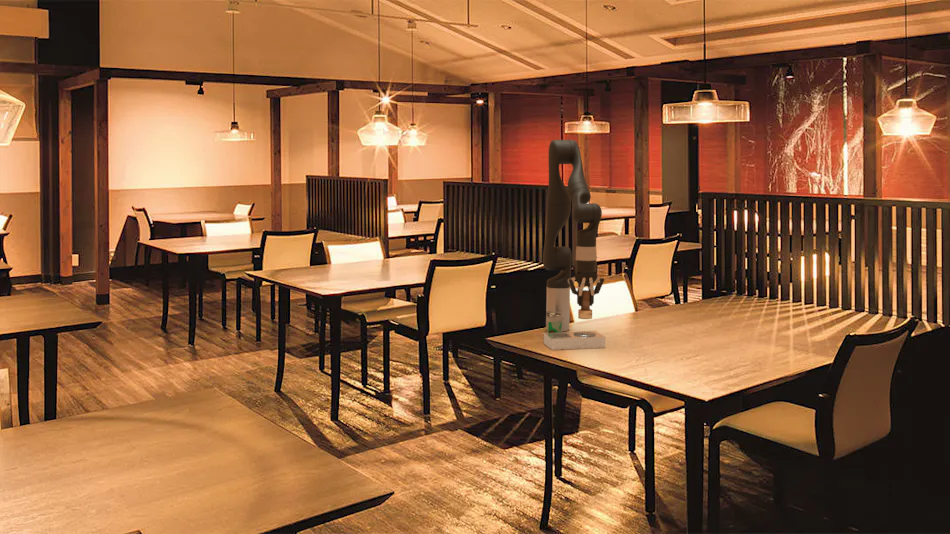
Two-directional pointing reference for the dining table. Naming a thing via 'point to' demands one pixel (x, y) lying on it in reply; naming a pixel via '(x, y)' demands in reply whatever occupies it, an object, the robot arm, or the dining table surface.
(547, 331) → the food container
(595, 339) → the bore block
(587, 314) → the brown wooden peg
